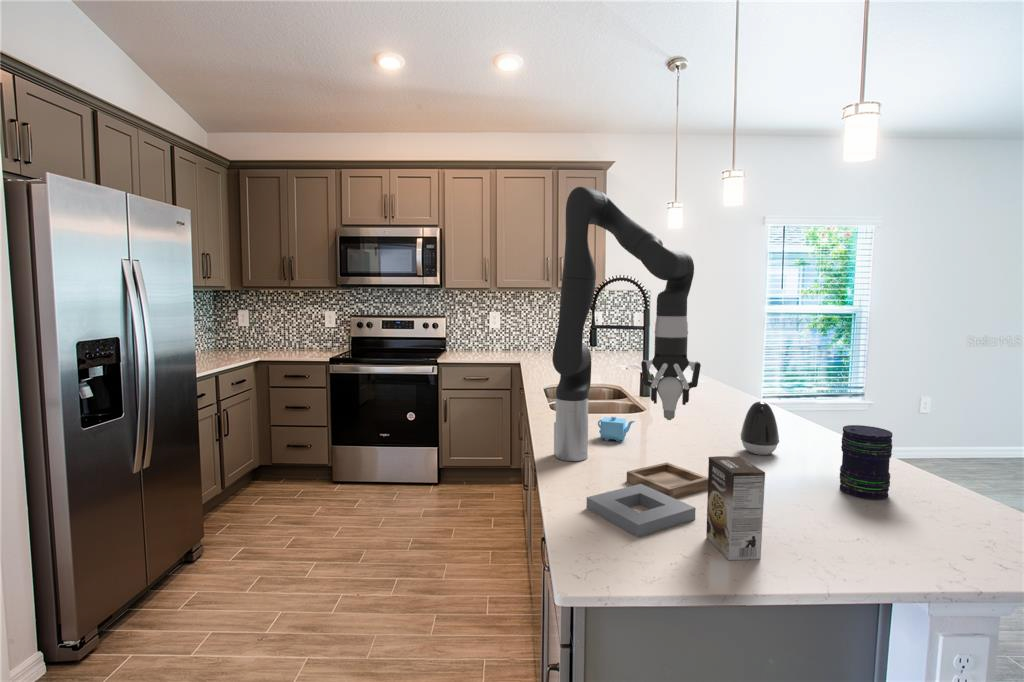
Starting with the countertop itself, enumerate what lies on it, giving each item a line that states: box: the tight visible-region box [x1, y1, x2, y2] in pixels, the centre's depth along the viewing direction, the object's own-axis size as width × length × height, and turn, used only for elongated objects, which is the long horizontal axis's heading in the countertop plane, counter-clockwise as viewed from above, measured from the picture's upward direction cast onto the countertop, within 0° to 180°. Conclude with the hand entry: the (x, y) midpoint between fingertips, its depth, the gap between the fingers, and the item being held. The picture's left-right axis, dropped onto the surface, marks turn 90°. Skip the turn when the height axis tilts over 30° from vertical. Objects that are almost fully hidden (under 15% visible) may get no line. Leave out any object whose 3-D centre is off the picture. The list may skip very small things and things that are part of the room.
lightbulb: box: [656, 376, 684, 421], centre depth 127 cm, size 6×6×11 cm
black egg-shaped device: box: [740, 401, 780, 456], centre depth 154 cm, size 10×10×15 cm
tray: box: [626, 462, 708, 499], centre depth 129 cm, size 14×14×2 cm
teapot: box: [597, 415, 636, 442], centre depth 169 cm, size 12×6×8 cm, turn 69°
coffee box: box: [706, 455, 766, 561], centre depth 96 cm, size 9×6×16 cm
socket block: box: [586, 484, 696, 538], centre depth 112 cm, size 16×16×2 cm
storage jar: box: [839, 424, 893, 501], centre depth 123 cm, size 10×10×15 cm
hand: (669, 403), depth 127 cm, fingers closed on lightbulb, 6 cm apart
